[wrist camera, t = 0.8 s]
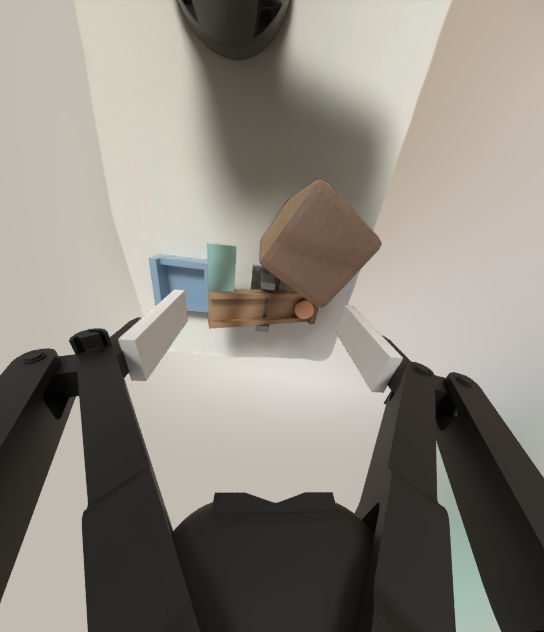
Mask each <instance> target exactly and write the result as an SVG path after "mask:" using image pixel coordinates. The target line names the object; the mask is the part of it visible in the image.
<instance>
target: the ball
mask: <svg viewBox="0 0 544 632" xmlns="http://www.w3.org/2000/svg"><path fill="white" fill-rule="evenodd" d="M313 312H314V307H313V305H312V304H311V303H310V302H309V301H306V300H302V301H300V302H298V303H297V304H296V306H295V314H296V315H297V316H298V317H299V318H301V319H308V318H310V317H311V316H312V314H313Z"/></svg>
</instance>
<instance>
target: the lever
mask: <svg viewBox="0 0 544 632" xmlns="http://www.w3.org/2000/svg"><path fill="white" fill-rule="evenodd" d="M207 244H208V243H207ZM235 262H236V246H229V245H219V244H208V323H209V328H224V327H237V326H251V325H264V324H278V323H291V322H305V321H307V322H308V323H309V324H314V323H315V320H316V316H317V313H318V309H319V307H318V306H314V305H313V304H312V303H311V304H312V305H313V307H314V312H313V314H312V316H311V317H310V318H308V319H301V318H299V317H298V316H297V315H296V314H295V306H296V304H297V303H298V302H300V301H302V300H306V299H305V298H304V297H302V296H301V295H300V294H298V293H297V292H296V291H294V290H267V289H264V290H237V289H234V281H235ZM306 301H308V300H306Z"/></svg>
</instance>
